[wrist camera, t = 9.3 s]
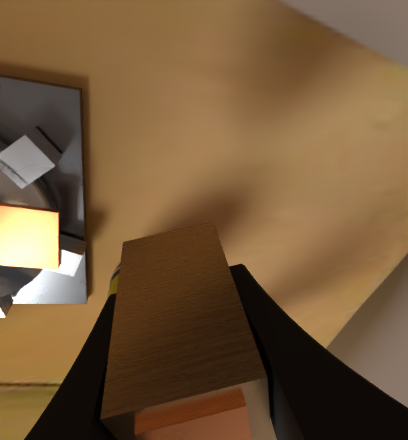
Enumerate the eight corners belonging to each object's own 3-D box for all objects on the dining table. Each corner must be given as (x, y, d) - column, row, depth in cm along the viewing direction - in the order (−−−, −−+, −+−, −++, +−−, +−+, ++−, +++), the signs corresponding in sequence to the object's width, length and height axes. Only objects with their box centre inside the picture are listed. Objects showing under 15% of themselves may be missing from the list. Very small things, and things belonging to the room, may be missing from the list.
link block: (223, 284, 13) (274, 450, 8) (147, 302, 13) (146, 484, 7) (213, 221, 11) (270, 387, 6) (123, 242, 11) (98, 431, 6)
